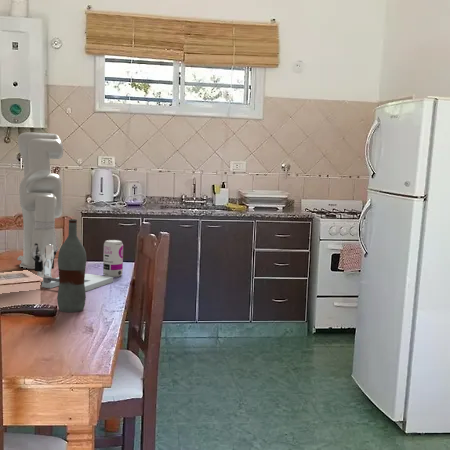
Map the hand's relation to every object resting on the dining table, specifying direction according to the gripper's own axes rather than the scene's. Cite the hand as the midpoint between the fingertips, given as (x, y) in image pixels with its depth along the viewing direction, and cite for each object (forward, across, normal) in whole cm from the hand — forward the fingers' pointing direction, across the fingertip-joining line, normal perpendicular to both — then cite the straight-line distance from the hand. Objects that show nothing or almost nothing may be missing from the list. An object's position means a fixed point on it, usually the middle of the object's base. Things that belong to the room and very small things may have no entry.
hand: (44, 269), depth 224 cm
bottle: (+5, +29, +34) cm, 45 cm away
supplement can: (+5, -24, +17) cm, 30 cm away
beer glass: (+5, 0, 0) cm, 5 cm away
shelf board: (+5, -2, +15) cm, 16 cm away
